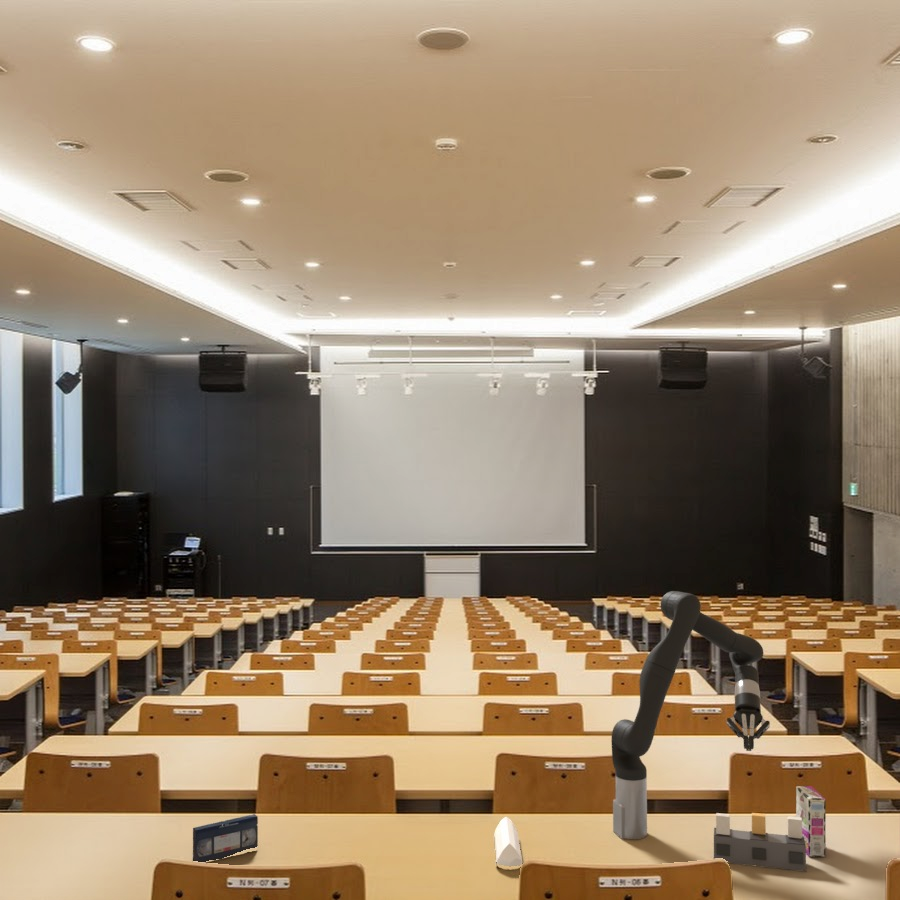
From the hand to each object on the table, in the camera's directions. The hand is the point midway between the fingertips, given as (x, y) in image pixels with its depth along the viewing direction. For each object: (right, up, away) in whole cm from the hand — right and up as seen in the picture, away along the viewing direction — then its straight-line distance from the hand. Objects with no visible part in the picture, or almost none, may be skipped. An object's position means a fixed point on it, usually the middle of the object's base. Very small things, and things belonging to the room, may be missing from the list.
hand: (748, 749), depth 278 cm
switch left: (-12, -18, -16) cm, 27 cm away
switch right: (+7, -18, -18) cm, 27 cm away
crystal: (-72, -27, -11) cm, 77 cm away
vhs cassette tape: (-152, -27, -12) cm, 155 cm away
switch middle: (-2, -18, -16) cm, 24 cm away
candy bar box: (+15, -26, -9) cm, 31 cm away
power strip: (-3, -26, -17) cm, 31 cm away
